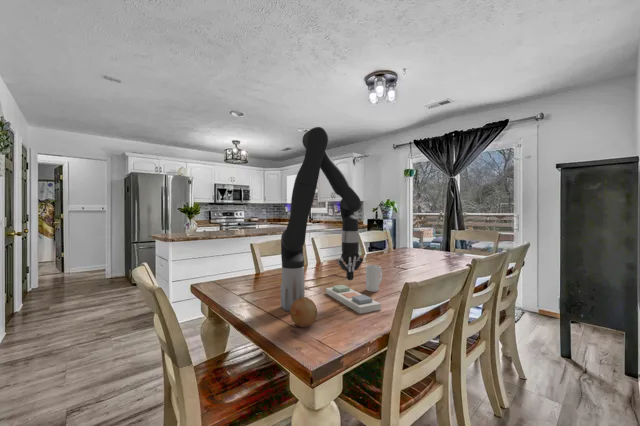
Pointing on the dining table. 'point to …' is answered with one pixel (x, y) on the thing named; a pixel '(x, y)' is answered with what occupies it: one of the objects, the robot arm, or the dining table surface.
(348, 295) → the terracotta button
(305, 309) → the onion
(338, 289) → the green button
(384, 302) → the dining table surface
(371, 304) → the button panel
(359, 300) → the grey button
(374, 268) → the mug
